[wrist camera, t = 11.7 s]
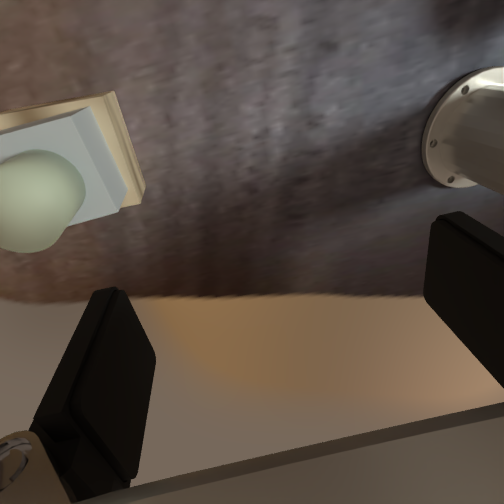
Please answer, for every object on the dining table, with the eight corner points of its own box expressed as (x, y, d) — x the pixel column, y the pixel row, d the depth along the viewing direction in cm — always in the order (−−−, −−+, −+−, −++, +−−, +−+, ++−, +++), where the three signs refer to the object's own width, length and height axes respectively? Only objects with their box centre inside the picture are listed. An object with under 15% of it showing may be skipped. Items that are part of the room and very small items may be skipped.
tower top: (89, 105, 25) (70, 115, 21) (128, 189, 29) (117, 212, 25) (1, 130, 25) (-37, 145, 21) (50, 211, 29) (27, 237, 25)
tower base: (114, 90, 30) (102, 96, 25) (146, 185, 34) (140, 203, 30) (11, 108, 29) (-19, 118, 25) (58, 203, 34) (39, 224, 29)
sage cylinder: (68, 143, 22) (39, 165, 18) (96, 211, 25) (77, 244, 20) (-10, 155, 22) (-58, 181, 17) (27, 223, 24) (-8, 259, 20)
